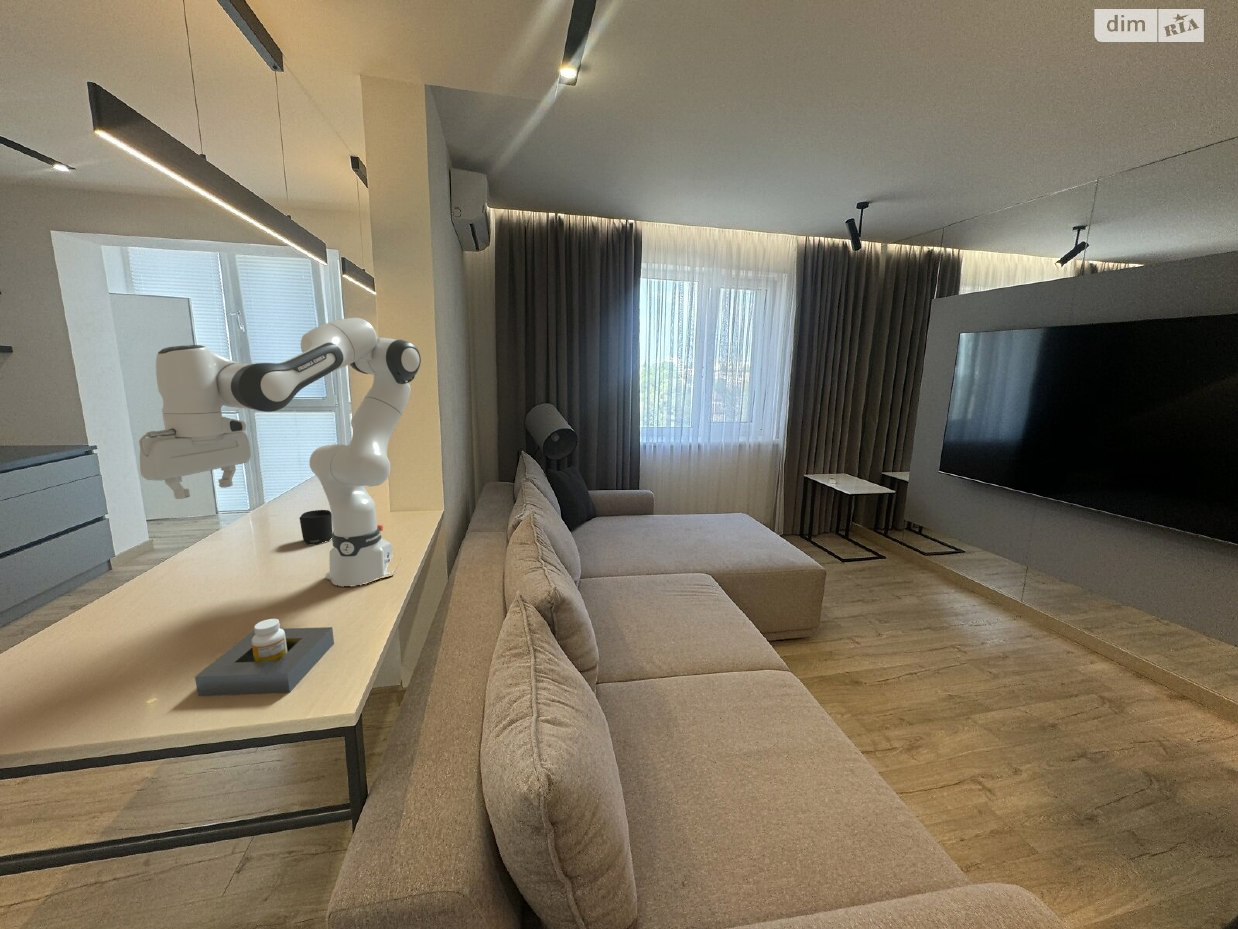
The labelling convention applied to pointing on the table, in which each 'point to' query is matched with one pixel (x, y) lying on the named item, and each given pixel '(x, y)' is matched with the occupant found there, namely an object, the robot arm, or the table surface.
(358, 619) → the table surface
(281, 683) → the grey square frame
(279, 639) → the supplement bottle
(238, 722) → the table surface
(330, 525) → the pen holder
